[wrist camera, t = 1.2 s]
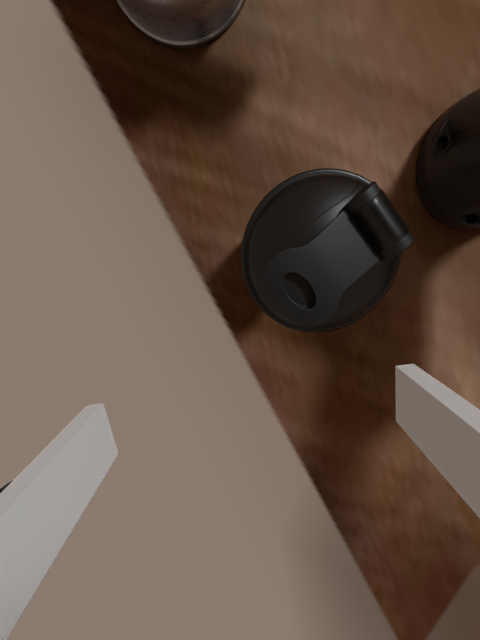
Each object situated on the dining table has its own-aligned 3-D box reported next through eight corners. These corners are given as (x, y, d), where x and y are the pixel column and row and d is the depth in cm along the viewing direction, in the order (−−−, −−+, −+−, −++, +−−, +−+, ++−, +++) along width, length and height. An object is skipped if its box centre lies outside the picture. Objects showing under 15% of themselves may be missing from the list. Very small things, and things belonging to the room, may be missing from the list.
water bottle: (222, 247, 37) (201, 249, 14) (283, 191, 35) (365, 97, 13) (272, 304, 39) (320, 384, 16) (331, 254, 37) (474, 267, 15)
